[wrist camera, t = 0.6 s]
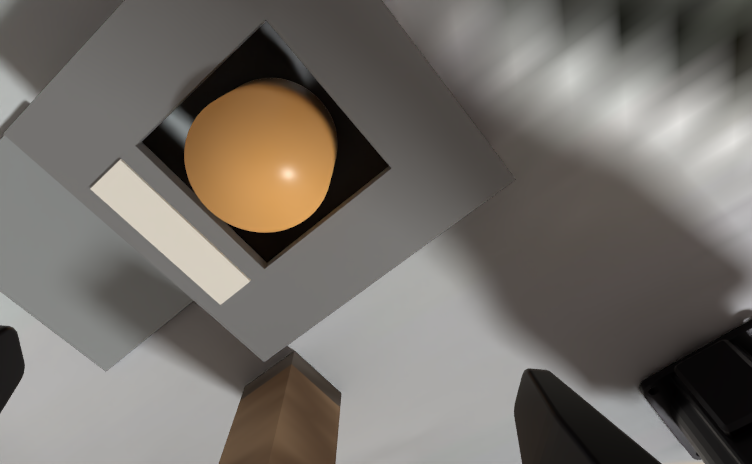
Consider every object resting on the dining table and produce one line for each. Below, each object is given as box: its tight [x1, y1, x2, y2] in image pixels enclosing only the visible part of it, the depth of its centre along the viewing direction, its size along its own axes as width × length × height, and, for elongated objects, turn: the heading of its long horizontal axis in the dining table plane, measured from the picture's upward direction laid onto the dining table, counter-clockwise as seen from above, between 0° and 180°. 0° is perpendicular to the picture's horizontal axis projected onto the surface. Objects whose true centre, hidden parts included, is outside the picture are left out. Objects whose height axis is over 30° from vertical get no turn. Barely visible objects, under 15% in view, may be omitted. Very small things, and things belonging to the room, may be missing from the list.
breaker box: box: [3, 0, 516, 362], centre depth 18 cm, size 12×12×4 cm
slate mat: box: [0, 135, 193, 371], centre depth 22 cm, size 10×8×1 cm
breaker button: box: [184, 78, 338, 233], centre depth 17 cm, size 5×5×3 cm
